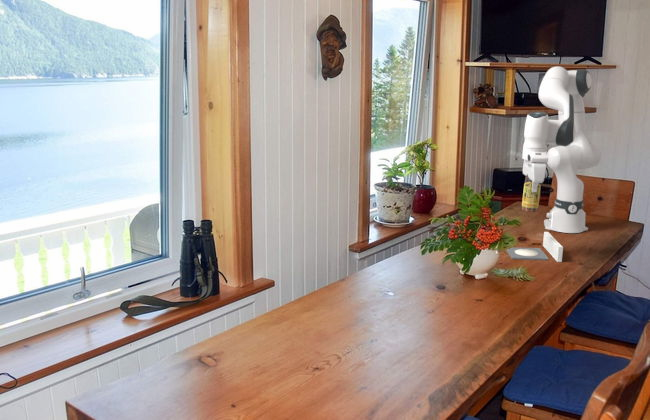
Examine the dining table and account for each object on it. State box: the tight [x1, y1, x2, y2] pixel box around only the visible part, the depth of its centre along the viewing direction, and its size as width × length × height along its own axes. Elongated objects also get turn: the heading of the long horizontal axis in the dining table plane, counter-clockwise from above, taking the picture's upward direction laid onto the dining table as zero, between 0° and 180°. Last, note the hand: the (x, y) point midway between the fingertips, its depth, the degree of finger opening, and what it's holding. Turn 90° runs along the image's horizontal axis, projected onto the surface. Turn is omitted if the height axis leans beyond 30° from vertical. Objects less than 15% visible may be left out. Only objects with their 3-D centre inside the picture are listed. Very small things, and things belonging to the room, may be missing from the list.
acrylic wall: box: [542, 231, 564, 263], centre depth 248 cm, size 22×2×6 cm, turn 175°
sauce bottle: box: [521, 174, 542, 213], centre depth 241 cm, size 7×6×20 cm
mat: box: [505, 246, 550, 261], centre depth 247 cm, size 14×14×1 cm
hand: (531, 189), depth 241 cm, fingers closed on sauce bottle, 6 cm apart
